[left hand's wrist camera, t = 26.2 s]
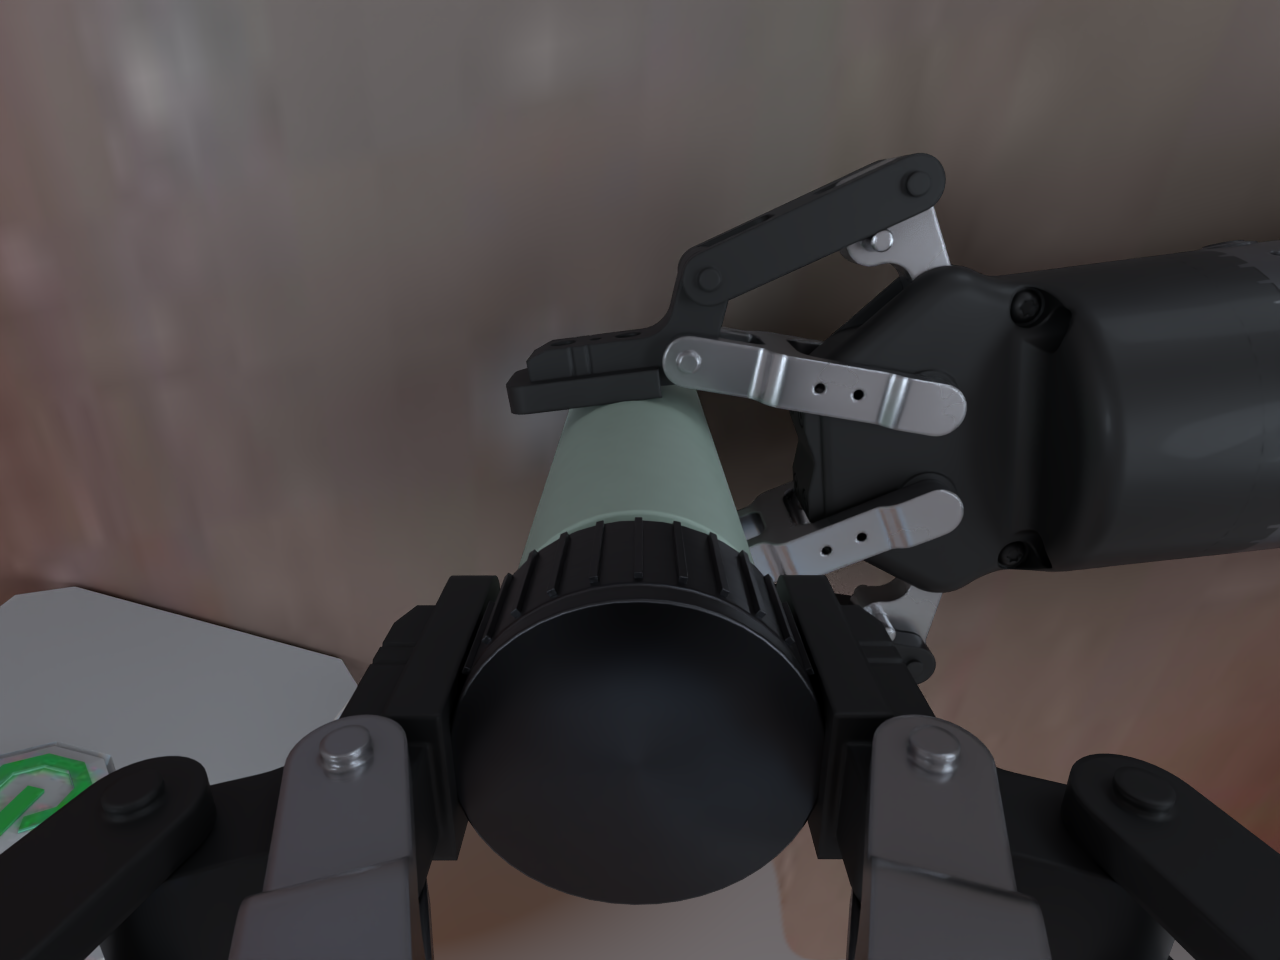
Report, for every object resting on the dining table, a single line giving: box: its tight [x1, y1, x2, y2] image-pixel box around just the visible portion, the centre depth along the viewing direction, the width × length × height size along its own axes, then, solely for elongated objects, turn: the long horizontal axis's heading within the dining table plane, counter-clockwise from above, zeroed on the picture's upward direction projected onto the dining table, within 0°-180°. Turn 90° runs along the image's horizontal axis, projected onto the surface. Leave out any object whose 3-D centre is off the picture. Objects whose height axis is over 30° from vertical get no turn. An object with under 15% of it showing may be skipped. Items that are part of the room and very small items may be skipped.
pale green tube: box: [518, 385, 755, 569], centre depth 18 cm, size 4×4×16 cm
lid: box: [450, 517, 825, 905], centre depth 10 cm, size 5×5×2 cm
